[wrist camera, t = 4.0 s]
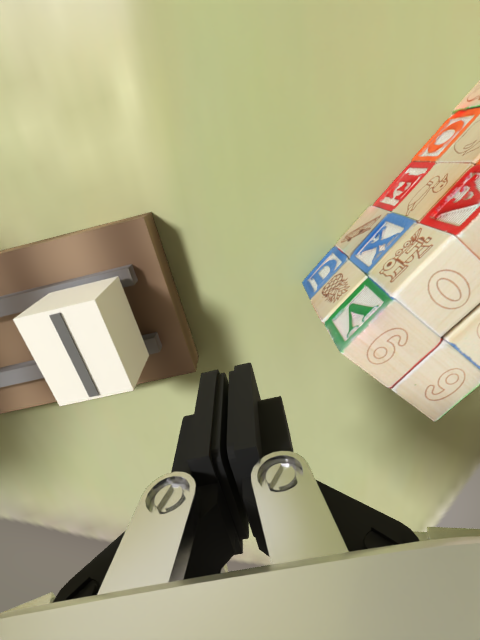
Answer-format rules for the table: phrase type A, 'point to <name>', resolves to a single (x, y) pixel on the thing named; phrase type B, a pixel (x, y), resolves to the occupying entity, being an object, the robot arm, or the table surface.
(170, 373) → the fader console
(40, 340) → the fader knob
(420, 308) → the stack of blocks
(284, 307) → the table surface
